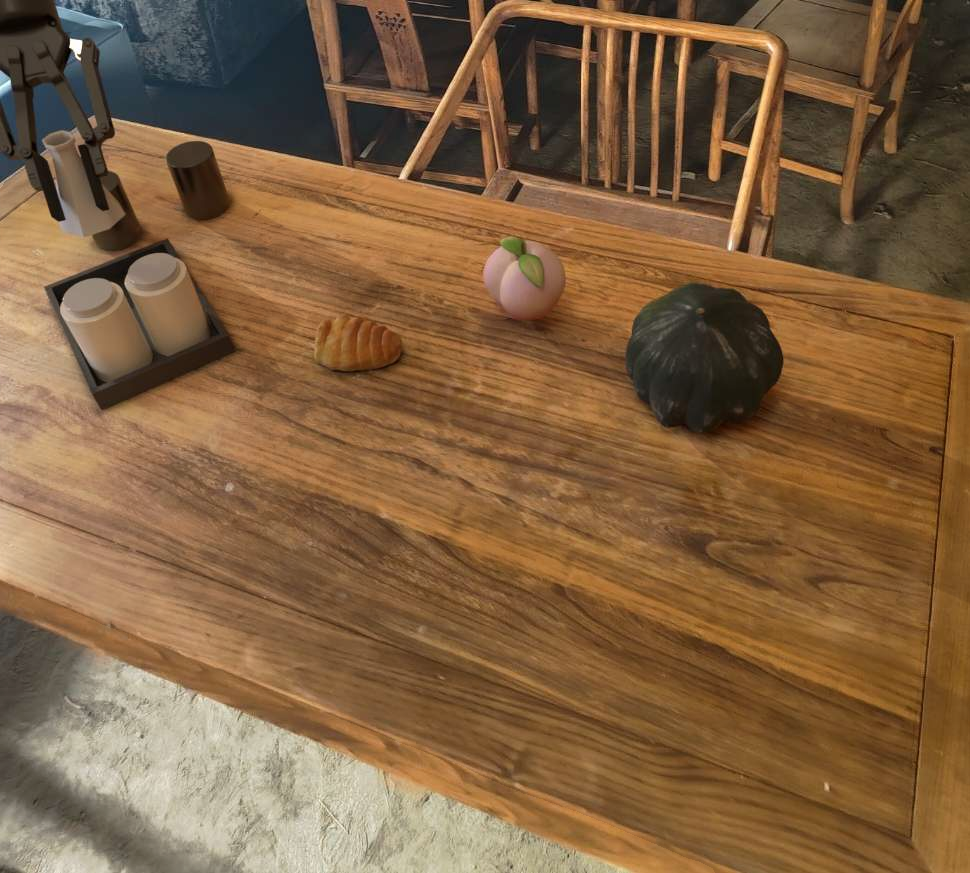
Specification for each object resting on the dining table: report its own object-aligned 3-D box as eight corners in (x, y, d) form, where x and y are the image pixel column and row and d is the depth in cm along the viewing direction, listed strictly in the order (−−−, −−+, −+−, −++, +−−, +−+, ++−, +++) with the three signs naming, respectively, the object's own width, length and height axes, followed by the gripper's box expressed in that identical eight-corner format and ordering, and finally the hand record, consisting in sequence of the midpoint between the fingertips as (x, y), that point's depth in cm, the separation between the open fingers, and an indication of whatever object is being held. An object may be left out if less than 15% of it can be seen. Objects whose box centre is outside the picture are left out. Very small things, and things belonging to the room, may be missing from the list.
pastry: (408, 334, 104) (403, 309, 101) (396, 378, 100) (390, 353, 97) (328, 330, 106) (321, 305, 103) (312, 373, 101) (304, 348, 99)
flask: (82, 246, 101) (46, 165, 93) (46, 222, 104) (8, 141, 96) (137, 215, 104) (107, 134, 97) (101, 193, 107) (69, 113, 100)
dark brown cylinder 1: (90, 233, 122) (64, 181, 116) (134, 216, 123) (111, 164, 117) (103, 257, 118) (77, 204, 112) (148, 239, 120) (125, 186, 114)
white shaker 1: (87, 357, 105) (49, 289, 98) (142, 333, 107) (109, 265, 99) (103, 392, 101) (64, 324, 94) (160, 367, 103) (127, 298, 96)
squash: (741, 283, 97) (671, 228, 86) (834, 375, 89) (769, 328, 78) (648, 379, 102) (570, 339, 91) (727, 476, 94) (651, 444, 83)
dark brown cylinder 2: (179, 204, 125) (159, 151, 118) (221, 188, 126) (203, 135, 120) (194, 225, 121) (174, 173, 115) (237, 209, 123) (219, 156, 117)
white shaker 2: (146, 332, 107) (113, 264, 100) (200, 309, 109) (171, 241, 101) (164, 365, 103) (131, 297, 96) (219, 341, 105) (191, 272, 98)
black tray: (52, 303, 113) (43, 286, 111) (174, 254, 117) (167, 237, 115) (101, 410, 100) (92, 394, 98) (235, 351, 105) (229, 334, 103)
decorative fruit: (582, 319, 104) (583, 247, 96) (523, 352, 101) (519, 280, 94) (532, 277, 109) (529, 206, 102) (475, 307, 106) (467, 236, 99)
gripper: (-88, -5, 92) (-15, 226, 94) (85, -40, 94) (153, 186, 96) (-57, 25, 99) (11, 238, 101) (103, -8, 102) (166, 201, 104)
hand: (80, 212), depth 99 cm, fingers closed on flask, 4 cm apart
